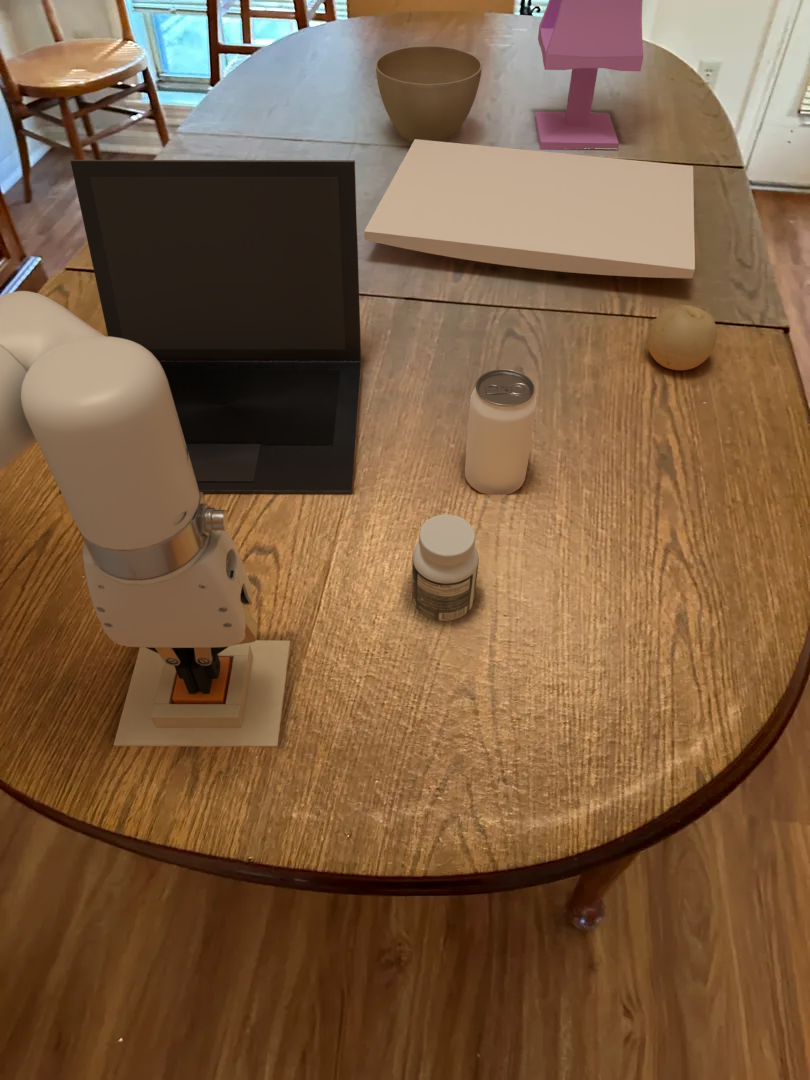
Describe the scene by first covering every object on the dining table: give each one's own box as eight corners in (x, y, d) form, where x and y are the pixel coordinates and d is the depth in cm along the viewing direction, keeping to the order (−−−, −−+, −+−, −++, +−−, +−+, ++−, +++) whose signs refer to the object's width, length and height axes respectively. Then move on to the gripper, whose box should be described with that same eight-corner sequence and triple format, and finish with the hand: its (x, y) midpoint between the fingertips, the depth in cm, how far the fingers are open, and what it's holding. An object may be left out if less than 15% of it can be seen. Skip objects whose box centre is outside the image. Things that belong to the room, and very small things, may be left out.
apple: (625, 356, 98) (647, 293, 95) (669, 366, 102) (690, 306, 99) (672, 372, 91) (696, 305, 89) (716, 381, 96) (740, 317, 93)
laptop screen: (354, 161, 82) (355, 160, 83) (69, 160, 83) (72, 159, 83) (360, 361, 95) (361, 359, 95) (112, 361, 95) (114, 358, 95)
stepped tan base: (118, 753, 63) (106, 734, 61) (145, 649, 70) (136, 628, 67) (279, 754, 63) (274, 735, 61) (292, 649, 70) (288, 628, 67)
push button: (176, 710, 64) (171, 699, 62) (185, 667, 66) (181, 656, 65) (225, 710, 64) (222, 699, 62) (233, 667, 66) (229, 656, 65)
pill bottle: (424, 573, 75) (426, 501, 68) (481, 591, 74) (490, 519, 66) (402, 618, 72) (402, 548, 64) (462, 637, 70) (469, 567, 63)
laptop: (352, 503, 81) (351, 490, 80) (64, 502, 82) (58, 489, 80) (361, 374, 96) (360, 361, 95) (116, 373, 96) (112, 360, 95)
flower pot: (357, 136, 143) (353, 62, 133) (429, 110, 151) (430, 38, 141) (424, 169, 134) (426, 91, 125) (497, 139, 142) (504, 64, 133)
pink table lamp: (529, 116, 149) (556, -123, 122) (611, 117, 148) (656, -122, 122) (534, 151, 138) (565, -102, 112) (623, 152, 138) (675, -101, 112)
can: (528, 498, 82) (543, 408, 73) (466, 498, 82) (473, 408, 73) (521, 456, 86) (535, 366, 77) (462, 456, 86) (469, 366, 77)
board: (365, 262, 113) (364, 231, 110) (414, 167, 134) (414, 139, 130) (685, 301, 107) (694, 269, 103) (685, 195, 127) (693, 166, 124)
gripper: (270, 484, 52) (299, 639, 66) (47, 484, 52) (122, 639, 66) (255, 571, 47) (290, 720, 61) (8, 571, 47) (99, 719, 61)
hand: (202, 677), depth 64 cm, fingers closed
